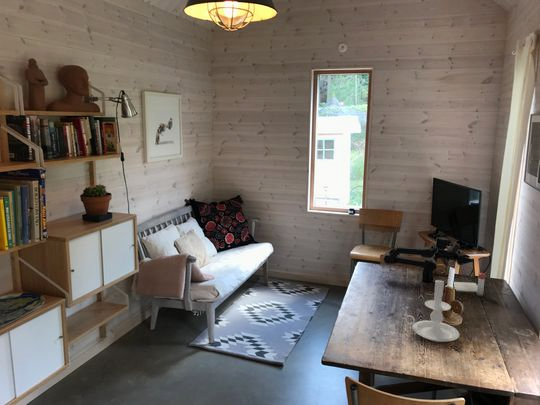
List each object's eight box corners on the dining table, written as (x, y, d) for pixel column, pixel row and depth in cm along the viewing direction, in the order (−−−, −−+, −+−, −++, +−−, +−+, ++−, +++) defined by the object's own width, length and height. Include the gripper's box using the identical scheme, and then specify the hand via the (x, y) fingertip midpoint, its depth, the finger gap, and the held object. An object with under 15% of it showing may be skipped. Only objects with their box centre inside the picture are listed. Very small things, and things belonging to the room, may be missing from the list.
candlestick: (404, 322, 218) (408, 268, 213) (457, 330, 210) (463, 275, 205) (401, 340, 199) (405, 282, 194) (459, 351, 191) (465, 290, 186)
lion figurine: (426, 273, 291) (427, 260, 290) (426, 270, 296) (427, 257, 294) (449, 275, 286) (451, 262, 285) (449, 273, 291) (450, 260, 290)
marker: (477, 296, 253) (479, 274, 251) (475, 293, 256) (477, 272, 254) (484, 296, 252) (486, 275, 250) (482, 294, 256) (484, 273, 254)
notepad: (453, 291, 260) (453, 290, 260) (447, 282, 275) (447, 281, 275) (483, 292, 258) (483, 291, 258) (475, 283, 272) (475, 282, 272)
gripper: (450, 245, 261) (478, 249, 258) (444, 239, 279) (470, 242, 277) (447, 263, 263) (474, 267, 260) (441, 255, 281) (467, 259, 278)
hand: (471, 258), depth 269 cm, fingers open, 9 cm apart
